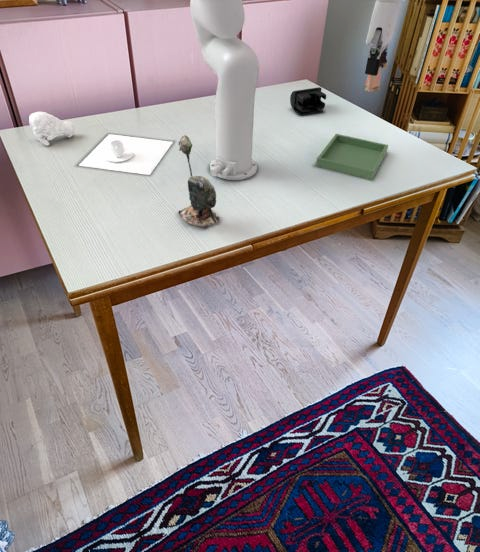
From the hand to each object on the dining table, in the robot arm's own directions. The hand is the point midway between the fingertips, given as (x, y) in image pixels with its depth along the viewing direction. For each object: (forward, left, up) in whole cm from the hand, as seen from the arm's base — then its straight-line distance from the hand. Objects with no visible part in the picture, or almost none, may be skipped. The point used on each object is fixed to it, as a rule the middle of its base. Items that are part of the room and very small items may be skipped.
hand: (374, 70), depth 122 cm
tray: (-8, 0, -22) cm, 23 cm away
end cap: (+19, +23, -22) cm, 37 cm away
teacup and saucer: (-35, +57, -22) cm, 70 cm away
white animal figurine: (-38, +80, -22) cm, 91 cm away
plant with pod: (-54, +23, -22) cm, 63 cm away
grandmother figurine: (0, 0, -5) cm, 5 cm away
